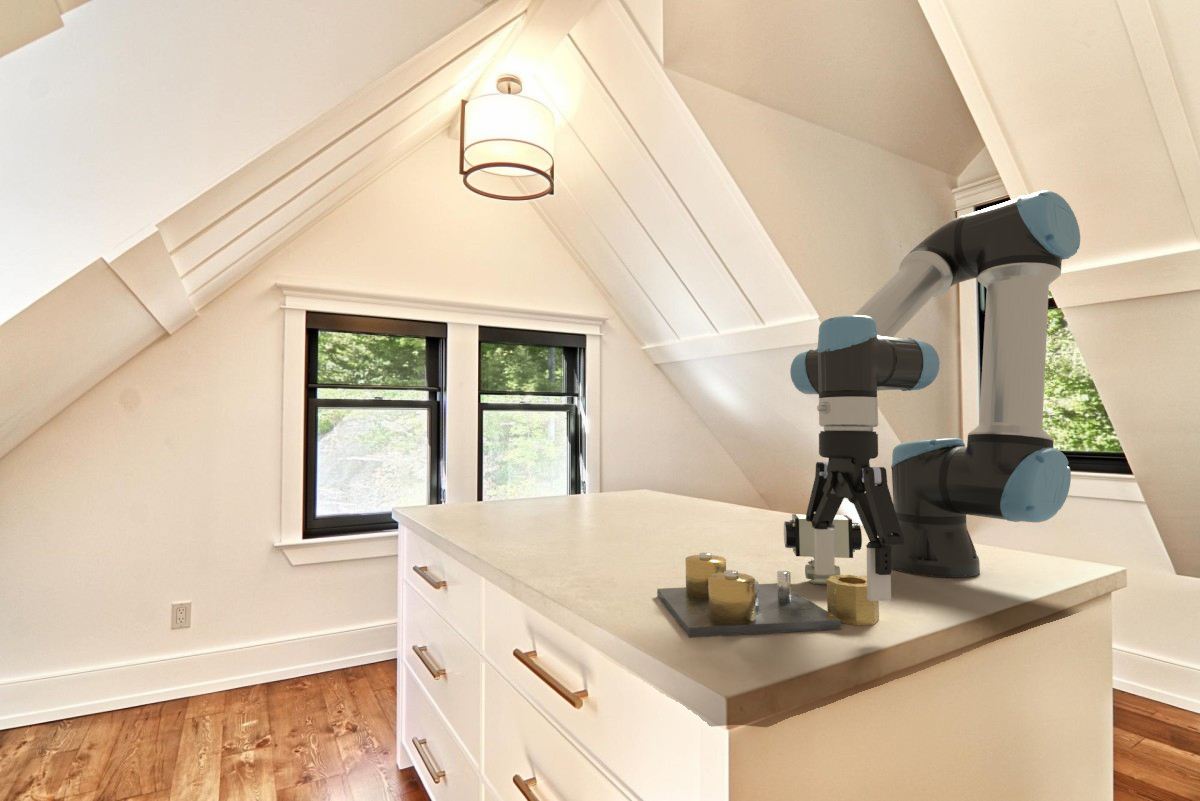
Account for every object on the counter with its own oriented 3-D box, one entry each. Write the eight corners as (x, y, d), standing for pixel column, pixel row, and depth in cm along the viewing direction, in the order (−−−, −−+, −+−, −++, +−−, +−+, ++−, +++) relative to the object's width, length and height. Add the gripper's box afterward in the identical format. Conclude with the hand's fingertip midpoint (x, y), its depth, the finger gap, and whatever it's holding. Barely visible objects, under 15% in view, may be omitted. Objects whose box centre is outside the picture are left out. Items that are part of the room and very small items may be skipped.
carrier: (781, 590, 94) (780, 546, 95) (840, 629, 76) (839, 574, 77) (657, 596, 92) (656, 550, 92) (689, 637, 74) (688, 580, 74)
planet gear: (861, 609, 84) (860, 574, 84) (887, 623, 78) (885, 585, 78) (821, 612, 83) (820, 575, 84) (844, 626, 78) (842, 587, 78)
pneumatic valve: (863, 588, 95) (861, 512, 96) (787, 584, 98) (785, 511, 98) (856, 579, 101) (854, 508, 101) (784, 576, 103) (782, 506, 104)
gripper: (782, 429, 94) (783, 565, 93) (875, 428, 69) (877, 614, 68) (827, 429, 95) (829, 564, 94) (934, 429, 70) (938, 612, 69)
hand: (849, 586), depth 81 cm, fingers open, 13 cm apart
